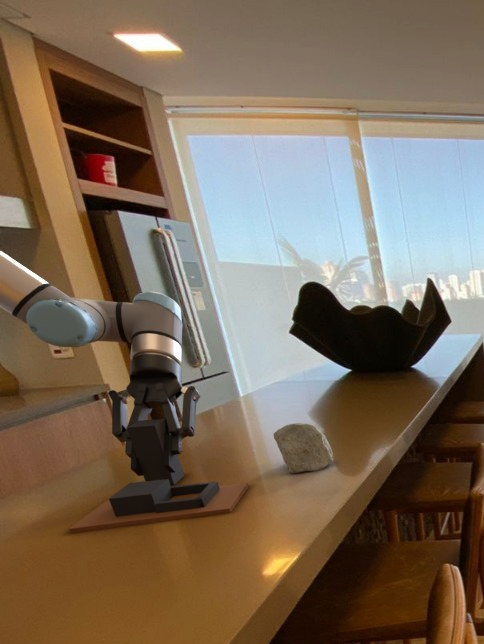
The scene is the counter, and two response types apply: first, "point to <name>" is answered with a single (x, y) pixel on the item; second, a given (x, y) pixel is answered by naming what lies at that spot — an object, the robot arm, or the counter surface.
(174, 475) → the tall black block
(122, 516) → the dock mat
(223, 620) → the counter surface
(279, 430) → the decorative stone
